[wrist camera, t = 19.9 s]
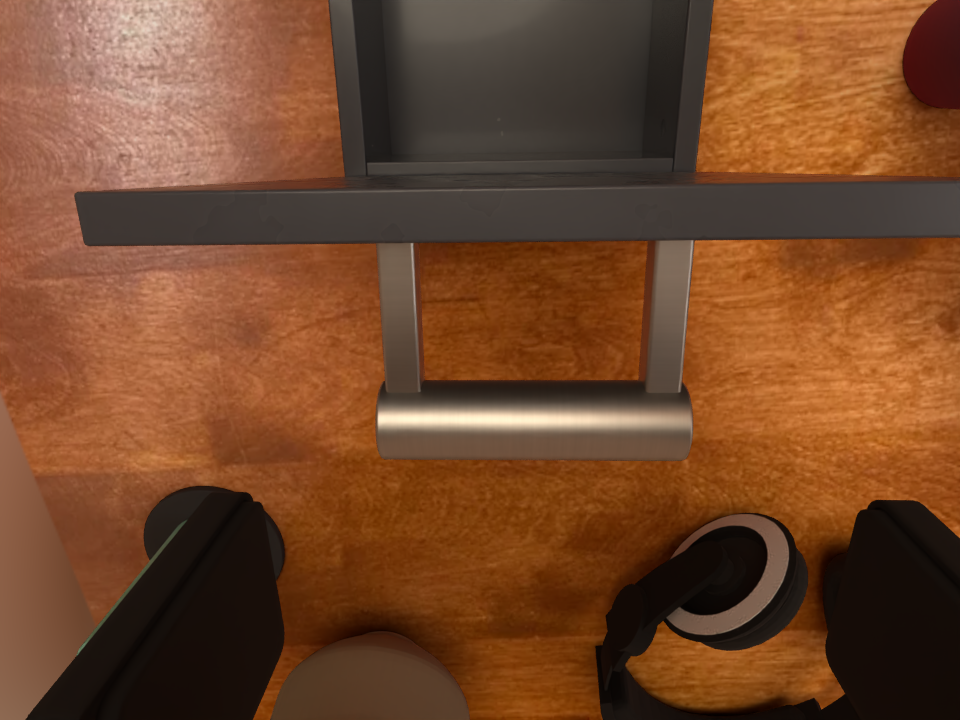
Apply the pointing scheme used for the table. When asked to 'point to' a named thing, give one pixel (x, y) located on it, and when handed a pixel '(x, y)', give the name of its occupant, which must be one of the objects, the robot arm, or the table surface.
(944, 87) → the cup
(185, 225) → the lid
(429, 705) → the bowl
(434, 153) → the open gift box
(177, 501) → the coaster
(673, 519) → the table surface
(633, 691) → the headphones
